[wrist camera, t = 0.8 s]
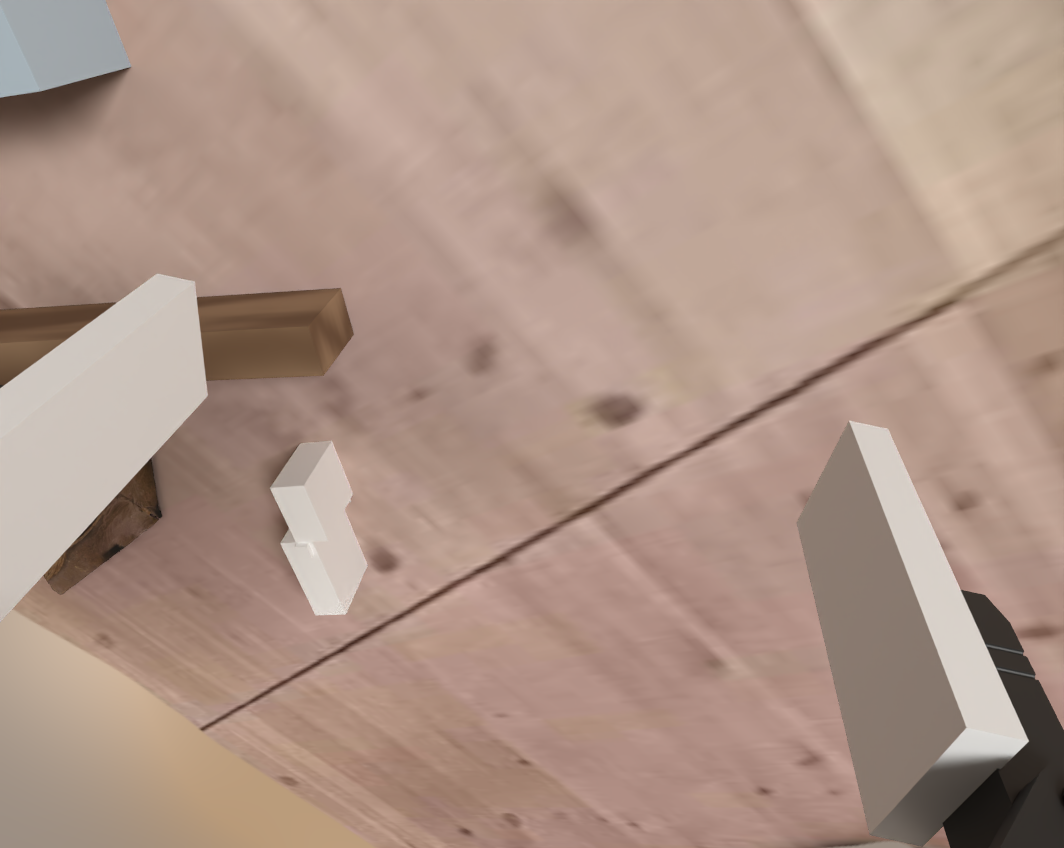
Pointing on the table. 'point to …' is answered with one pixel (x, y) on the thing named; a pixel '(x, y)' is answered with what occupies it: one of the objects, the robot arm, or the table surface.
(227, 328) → the stop board
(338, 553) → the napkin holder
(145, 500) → the wooden fragment
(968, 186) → the table surface
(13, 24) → the block
